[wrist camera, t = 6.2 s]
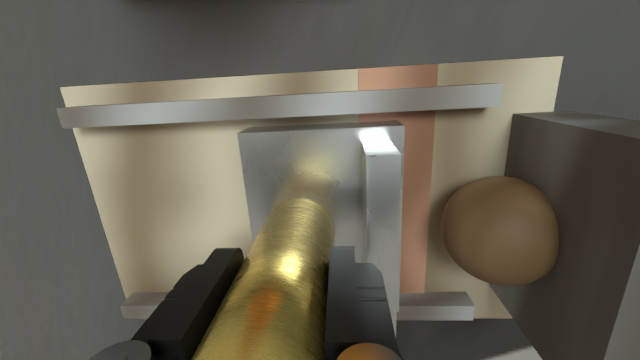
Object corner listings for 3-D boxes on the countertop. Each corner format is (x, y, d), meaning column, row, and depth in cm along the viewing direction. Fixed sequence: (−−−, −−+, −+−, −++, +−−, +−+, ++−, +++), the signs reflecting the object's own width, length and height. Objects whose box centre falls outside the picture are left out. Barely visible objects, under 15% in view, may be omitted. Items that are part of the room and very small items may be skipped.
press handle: (397, 120, 12) (978, 547, 1) (393, 289, 14) (552, 932, 4) (249, 127, 12) (-406, 467, 2) (270, 289, 15) (79, 854, 4)
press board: (543, 58, 13) (827, 30, 5) (505, 291, 17) (641, 466, 9) (96, 86, 15) (-168, 94, 7) (153, 292, 18) (21, 441, 11)
